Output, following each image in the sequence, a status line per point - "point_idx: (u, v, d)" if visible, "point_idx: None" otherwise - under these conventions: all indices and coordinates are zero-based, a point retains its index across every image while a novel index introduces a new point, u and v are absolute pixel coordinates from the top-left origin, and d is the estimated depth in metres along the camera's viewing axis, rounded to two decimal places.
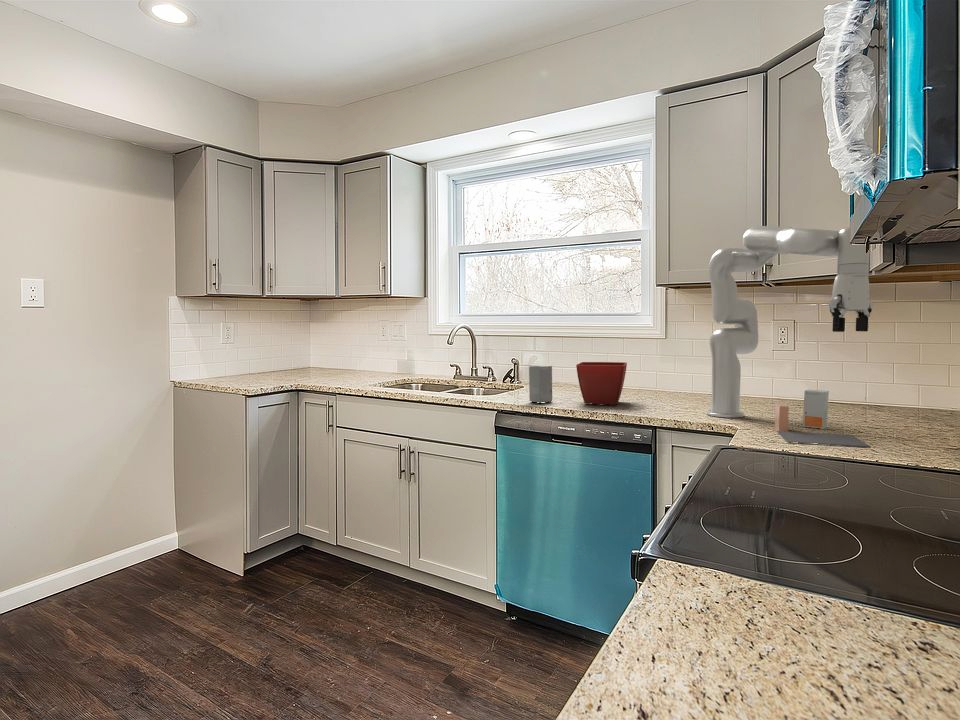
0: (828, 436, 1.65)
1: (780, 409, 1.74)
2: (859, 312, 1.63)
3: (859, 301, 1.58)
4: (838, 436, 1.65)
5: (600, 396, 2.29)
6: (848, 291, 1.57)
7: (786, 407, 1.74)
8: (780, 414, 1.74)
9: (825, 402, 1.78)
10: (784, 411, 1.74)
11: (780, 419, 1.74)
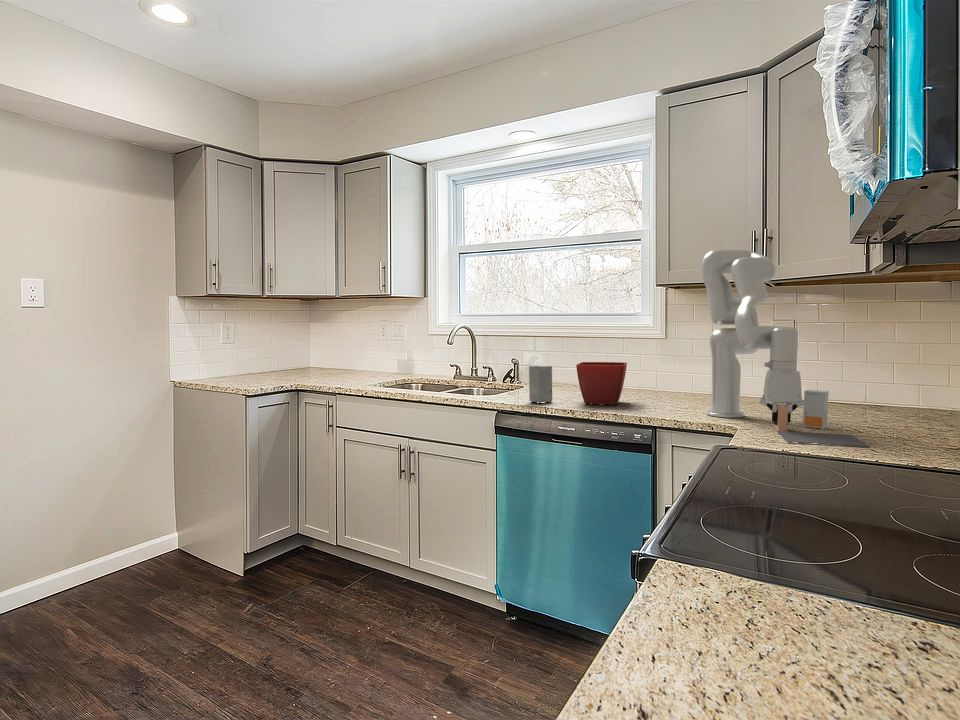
0: (828, 436, 1.65)
1: (779, 409, 1.74)
2: None
3: None
4: (838, 436, 1.65)
5: (600, 396, 2.29)
6: None
7: (785, 407, 1.74)
8: (779, 414, 1.74)
9: (825, 402, 1.78)
10: (783, 411, 1.74)
11: (779, 419, 1.75)
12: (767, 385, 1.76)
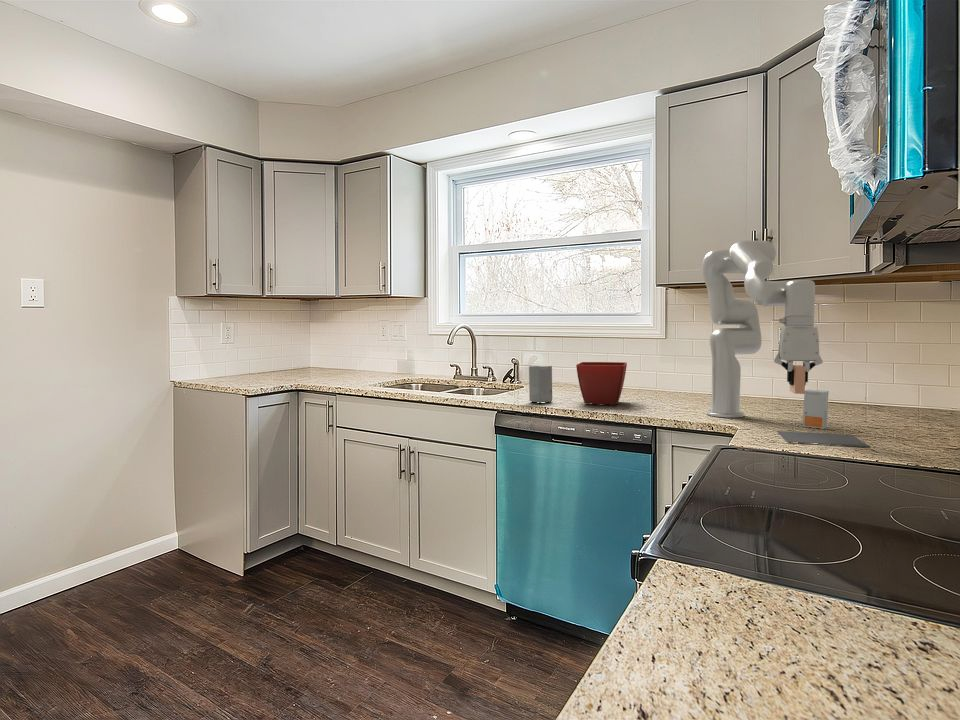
0: (828, 436, 1.65)
1: (796, 369, 1.63)
2: None
3: None
4: (838, 436, 1.65)
5: (600, 396, 2.29)
6: None
7: (803, 367, 1.63)
8: (796, 375, 1.63)
9: (825, 402, 1.78)
10: (800, 371, 1.63)
11: (796, 380, 1.63)
12: (782, 342, 1.65)
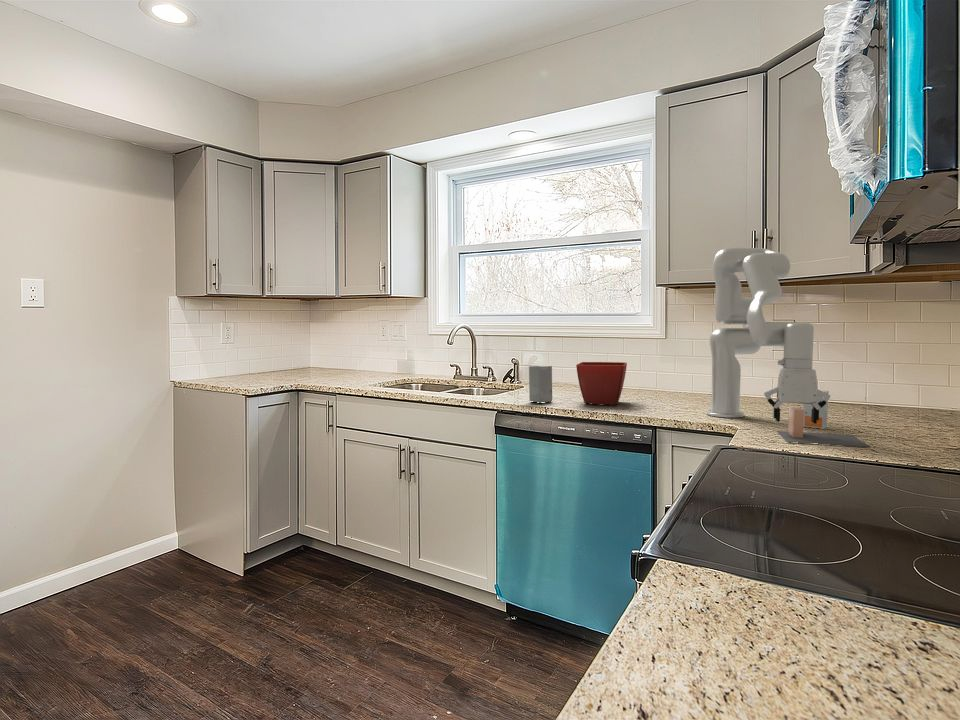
0: (828, 436, 1.65)
1: (795, 413, 1.64)
2: None
3: None
4: (838, 436, 1.65)
5: (600, 396, 2.29)
6: None
7: (801, 411, 1.63)
8: (795, 418, 1.64)
9: None
10: (799, 415, 1.64)
11: (795, 424, 1.64)
12: (781, 384, 1.66)
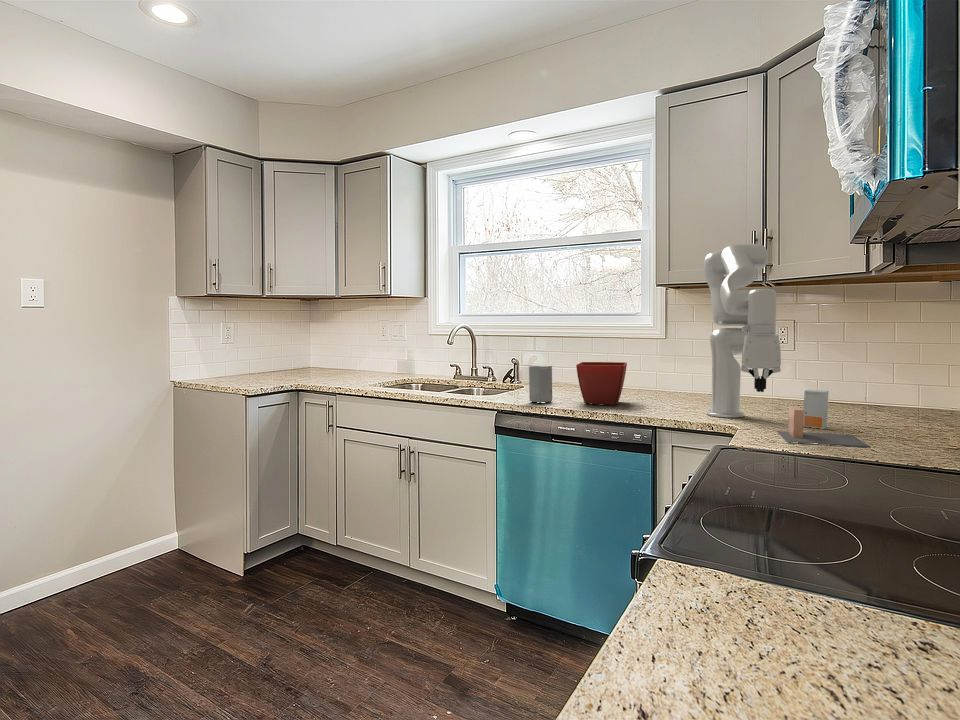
0: (828, 436, 1.65)
1: (795, 413, 1.64)
2: None
3: None
4: (838, 436, 1.65)
5: (600, 396, 2.29)
6: None
7: (801, 411, 1.63)
8: (795, 418, 1.64)
9: (825, 402, 1.78)
10: (799, 415, 1.64)
11: (795, 424, 1.64)
12: (745, 350, 1.68)
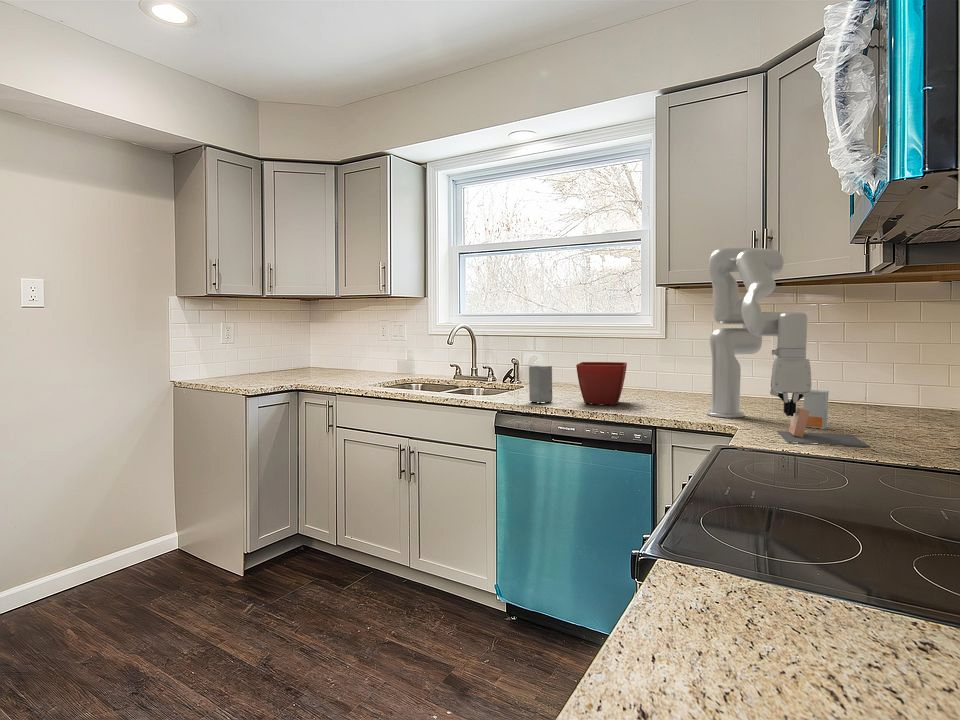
0: (828, 436, 1.65)
1: (800, 412, 1.64)
2: None
3: None
4: (838, 436, 1.65)
5: (600, 396, 2.29)
6: None
7: (807, 411, 1.63)
8: (799, 417, 1.64)
9: (825, 402, 1.78)
10: (804, 415, 1.63)
11: (798, 423, 1.64)
12: (774, 374, 1.66)
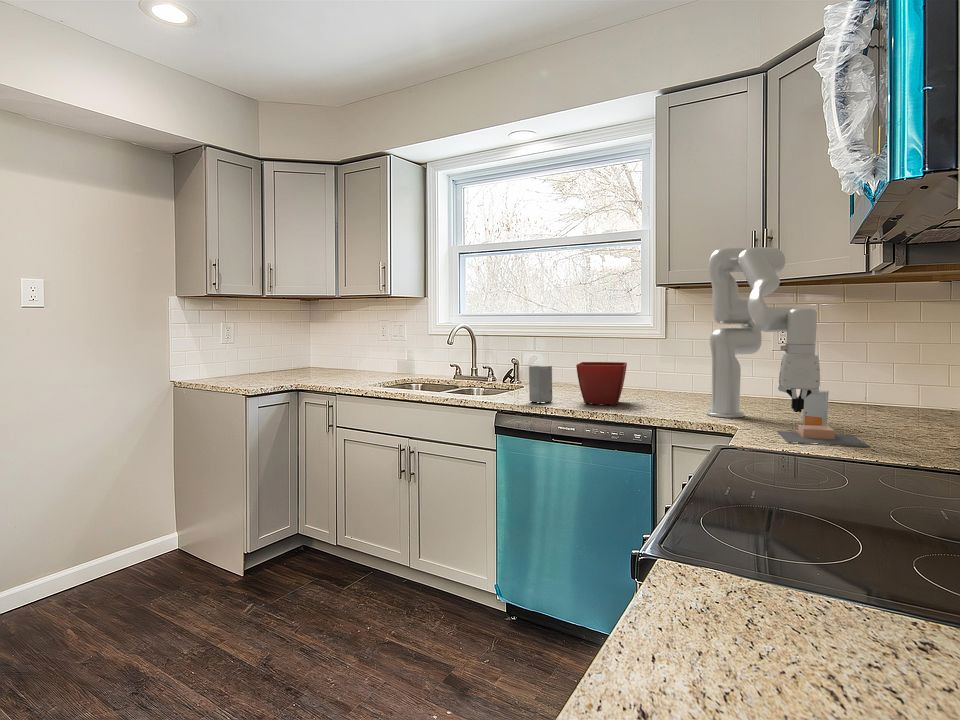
0: None
1: (830, 431, 1.61)
2: None
3: None
4: (838, 436, 1.65)
5: (600, 396, 2.29)
6: None
7: (833, 437, 1.61)
8: (824, 431, 1.62)
9: (825, 402, 1.78)
10: (828, 435, 1.62)
11: (818, 431, 1.62)
12: (783, 370, 1.65)
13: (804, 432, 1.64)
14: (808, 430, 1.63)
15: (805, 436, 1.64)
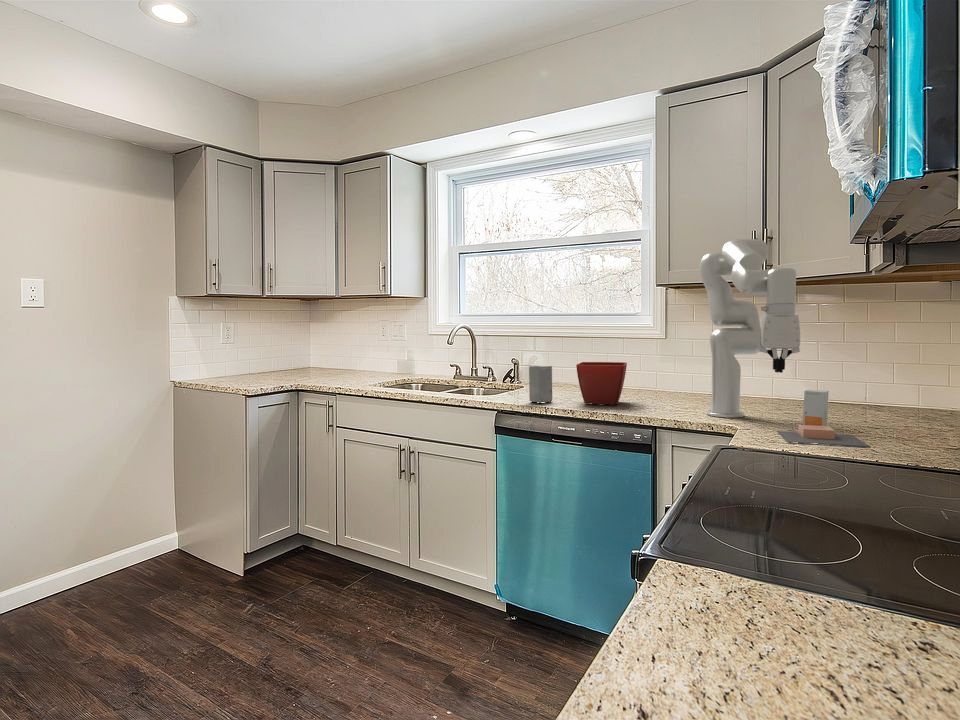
0: None
1: (830, 431, 1.61)
2: None
3: None
4: (838, 436, 1.65)
5: (600, 396, 2.29)
6: None
7: (833, 437, 1.61)
8: (824, 431, 1.62)
9: (825, 402, 1.78)
10: (828, 435, 1.62)
11: (818, 431, 1.62)
12: (764, 330, 1.66)
13: (804, 432, 1.64)
14: (808, 430, 1.63)
15: (805, 436, 1.64)
